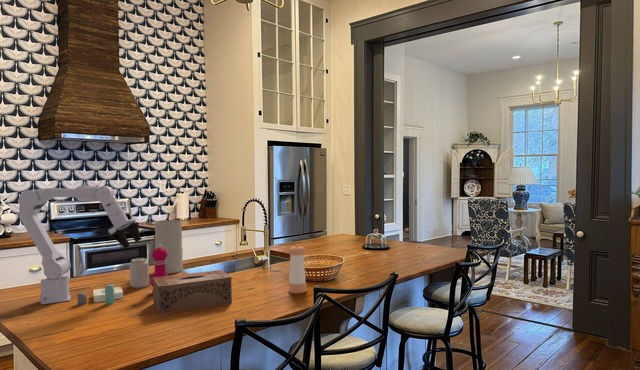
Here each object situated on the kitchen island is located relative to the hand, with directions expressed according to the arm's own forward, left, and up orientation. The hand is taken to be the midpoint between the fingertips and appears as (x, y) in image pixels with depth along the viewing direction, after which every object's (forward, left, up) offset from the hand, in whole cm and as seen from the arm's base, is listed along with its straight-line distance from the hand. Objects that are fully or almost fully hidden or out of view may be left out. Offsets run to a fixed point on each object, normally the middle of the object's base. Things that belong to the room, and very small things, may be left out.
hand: (133, 243), depth 170 cm
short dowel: (-18, -2, -21) cm, 28 cm away
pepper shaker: (+59, -29, -21) cm, 69 cm away
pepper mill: (+10, -2, -21) cm, 23 cm away
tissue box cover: (+18, -23, -21) cm, 36 cm away
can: (+4, +14, -21) cm, 26 cm away
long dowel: (-9, -7, -21) cm, 24 cm away
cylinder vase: (+20, +37, -21) cm, 47 cm away
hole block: (-9, +3, -21) cm, 23 cm away
